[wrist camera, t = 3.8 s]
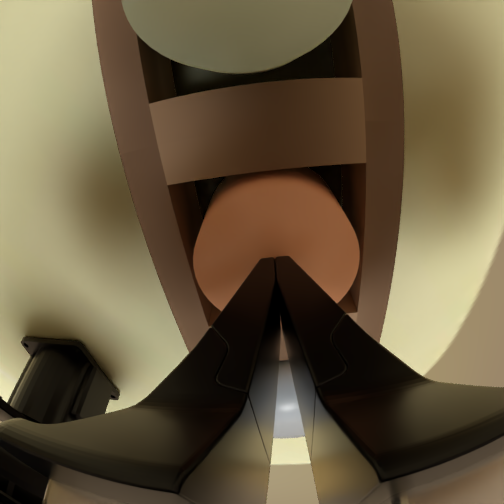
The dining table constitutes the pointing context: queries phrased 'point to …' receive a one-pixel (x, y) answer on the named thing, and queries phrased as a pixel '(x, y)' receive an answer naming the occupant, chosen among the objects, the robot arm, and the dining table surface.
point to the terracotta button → (274, 232)
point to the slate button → (287, 406)
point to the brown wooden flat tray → (261, 149)
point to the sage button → (234, 30)
